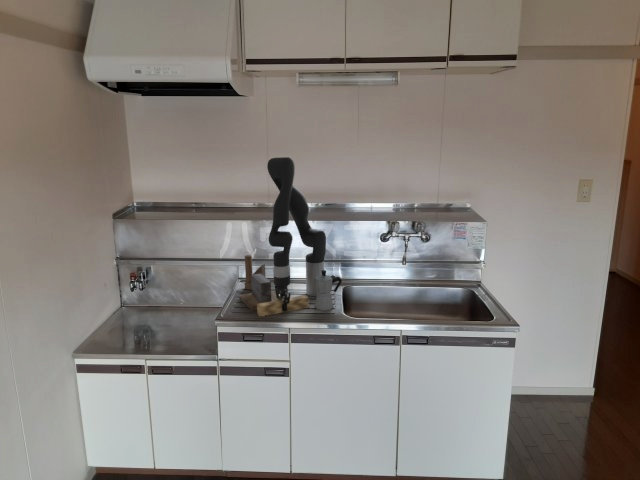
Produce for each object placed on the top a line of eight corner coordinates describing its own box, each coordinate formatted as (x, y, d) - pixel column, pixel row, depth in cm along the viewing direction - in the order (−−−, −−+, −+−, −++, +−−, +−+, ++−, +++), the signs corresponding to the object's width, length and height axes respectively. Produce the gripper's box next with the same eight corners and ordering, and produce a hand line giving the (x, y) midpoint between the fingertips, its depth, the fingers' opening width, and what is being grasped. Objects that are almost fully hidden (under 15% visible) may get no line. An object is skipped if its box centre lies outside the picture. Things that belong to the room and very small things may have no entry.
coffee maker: (312, 311, 223) (311, 274, 218) (309, 304, 231) (308, 268, 227) (344, 309, 226) (344, 272, 221) (339, 302, 234) (339, 266, 230)
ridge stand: (270, 293, 247) (269, 270, 244) (284, 305, 231) (283, 281, 228) (240, 298, 240) (238, 275, 237) (251, 311, 224) (250, 286, 221)
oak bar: (305, 304, 232) (305, 295, 230) (308, 307, 228) (308, 297, 227) (257, 314, 221) (256, 304, 220) (260, 317, 218) (259, 306, 217)
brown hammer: (262, 291, 249) (261, 258, 244) (244, 289, 253) (242, 256, 248) (266, 289, 252) (264, 256, 248) (248, 287, 256) (246, 254, 252)
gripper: (295, 277, 216) (296, 313, 220) (283, 268, 228) (284, 303, 232) (279, 280, 213) (281, 316, 217) (268, 271, 225) (270, 306, 229)
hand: (283, 309), depth 225 cm, fingers closed on oak bar, 3 cm apart
